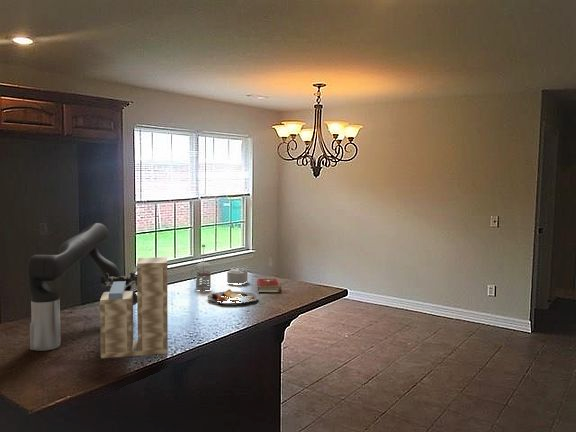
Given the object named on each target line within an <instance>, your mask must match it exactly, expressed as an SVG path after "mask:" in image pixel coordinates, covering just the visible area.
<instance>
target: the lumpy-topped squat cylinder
mask: <svg viewBox="0 0 576 432" xmlns="http://www.w3.org/2000/svg"><path fill="white" fill-rule="evenodd" d="M248 273H249V272H248V270H247V269H245V267H242V268H241V267H237V268H234V267H232V268H230V270H228V271H227V275H226V278H227V279H226V283H227V282H228V283H238V284H239V283H244V282H246V281H247V282H248V277H249V276H248Z"/></svg>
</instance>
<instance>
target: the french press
mask: <svg viewBox="0 0 576 432" xmlns="http://www.w3.org/2000/svg"><path fill="white" fill-rule="evenodd" d="M205 247H206V245H205V244H202V245H201V248H203V253H202V255H203V258H202V259H203V260H202V262H199V263H197V264H195V267H194V268H193V269H192V270H191V271H190V274H193V271H194V270H196V269H198V268H197V267H199V268H203V269H202V270H200V271H196V273H197V274H196V275H195V277H196V278H194V276H193V275H190V276H191V277H190V278H191V279H192V280H193V281H194V282H195V288H194V291H195V290H200V291H205V290H210V288H212V287H211V286H212V285H211V282H212V281H211V279H212V278H211V274H210V273H211V271H208V270H207V271H205V268H208V267H211V266H212V264H210V263H209V262H205V260H204V258H205V257H204V255H205V254H204V253H205V252H204V251H205Z"/></svg>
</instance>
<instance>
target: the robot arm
mask: <svg viewBox="0 0 576 432" xmlns="http://www.w3.org/2000/svg"><path fill="white" fill-rule="evenodd" d="M109 237H110V232H109V229H108V228H107V226H106V225H105V224H103V223H101V222H94V223H92V224H91V225H89V226H88V227H86V228H84V229H83V230H82V231H80V232H79V234H76V235H75V236H73V237H71V238H68V239H67V240H65V241H64V242H62V244H61V245H60V246H59V248H58V254H33V255H32V256H31V257H30V258H29V260H28V264H27V279H28V291H29V295H30V307H31V308H30V309H31V310H30V311H31V313H30V314H31V321H30V323H29V338H30V339H29V340H30V341H29V344H30V345H29V346H30V351H37V352H38V351H49V350H51V351H52V350H54V349H57V348H60V346H62V345H61V344H62V343H61V339H62V337H61V308H60V307H61V303H60V302H61V301H60V300H61V299H60V298H61V297H60V291H59V290H58V289H57V288H54V287H52V286H50V285H49V284H47V282H53V281H58V280H60V279H61V278H62V277H63V276H65V274H66V273H67V272H68V271H69V270H70V269H71V268H72V267H74V265H76V263H78V262H79V261H81V260H82V259H83V258H85V257H87V255H88V256H89V258H90V259H91V260H92V261H93V263H94V264H95V265H96V267H97V269H99V271H100V273H101V275H102V276H100V279H99V280H100V282H99V283H100V286H101V288H104V289H106V287H108V289H109V290H110V289H111V287H112V284H113V282H117V281H126V288H125V291H133V306H135V305H136V304H137V293H136V291H134V290H133V285H135V286H136V287H137V275H135V273H134V272H132V271H131V272H130V274H129V275H127V276H123V275H122V272H121V270H120V269H119V267H118V265H116V264H115V263H114V262H112V261H111V260H109V259H107V258H106V257H104V256H103V255H102V254H101V253H100V251H99V250H98V247H99V246H101V245H102V244H104V243H106V241H108V239H109Z"/></svg>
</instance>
